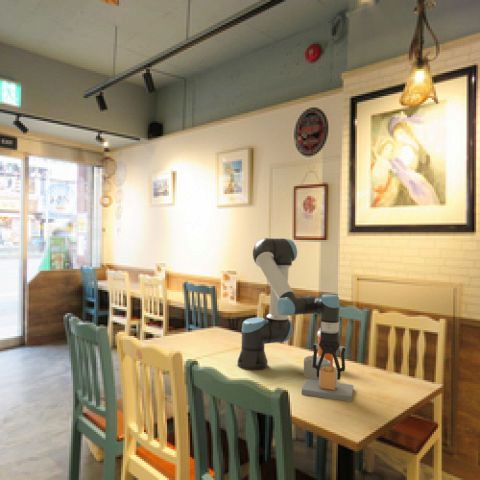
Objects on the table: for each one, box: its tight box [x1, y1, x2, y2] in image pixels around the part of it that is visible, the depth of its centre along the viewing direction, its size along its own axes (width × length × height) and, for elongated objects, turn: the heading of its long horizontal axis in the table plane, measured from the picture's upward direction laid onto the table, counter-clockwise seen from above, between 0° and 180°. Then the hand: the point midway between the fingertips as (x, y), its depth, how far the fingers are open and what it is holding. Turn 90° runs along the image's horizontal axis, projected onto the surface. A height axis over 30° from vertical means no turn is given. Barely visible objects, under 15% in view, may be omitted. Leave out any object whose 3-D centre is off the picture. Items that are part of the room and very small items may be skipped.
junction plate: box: [301, 378, 354, 402], centre depth 172 cm, size 20×14×7 cm
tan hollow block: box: [320, 367, 337, 390], centre depth 172 cm, size 6×6×8 cm
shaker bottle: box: [317, 326, 334, 368], centre depth 207 cm, size 9×9×20 cm
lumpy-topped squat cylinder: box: [303, 354, 331, 380], centre depth 193 cm, size 10×13×9 cm
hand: (328, 385), depth 172 cm, fingers closed on tan hollow block, 6 cm apart
